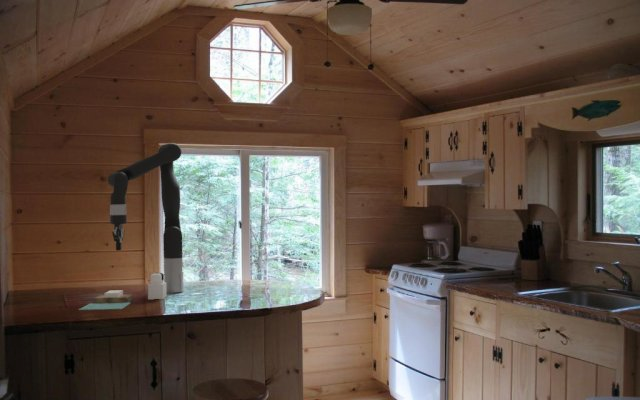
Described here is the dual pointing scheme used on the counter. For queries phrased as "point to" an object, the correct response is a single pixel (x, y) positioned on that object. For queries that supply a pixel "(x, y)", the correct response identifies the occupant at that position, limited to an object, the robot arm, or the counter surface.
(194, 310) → the counter surface
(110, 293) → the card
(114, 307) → the mat
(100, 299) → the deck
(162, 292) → the medicine bottle
